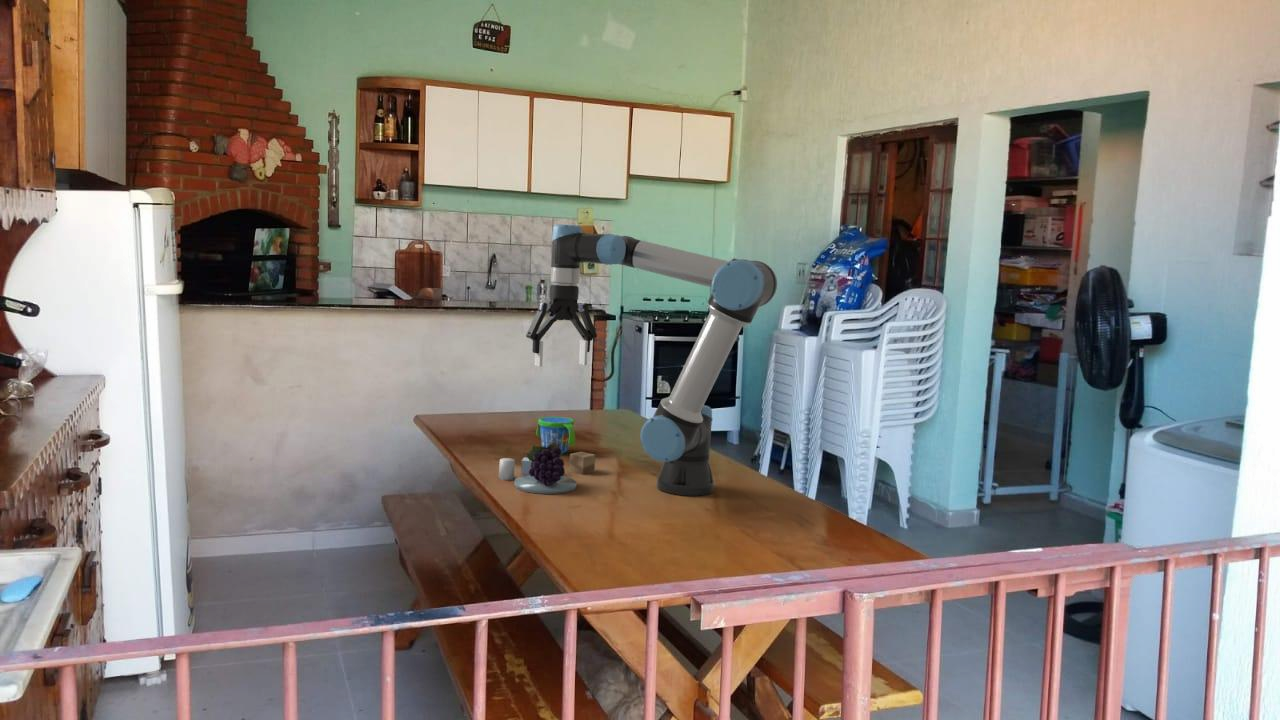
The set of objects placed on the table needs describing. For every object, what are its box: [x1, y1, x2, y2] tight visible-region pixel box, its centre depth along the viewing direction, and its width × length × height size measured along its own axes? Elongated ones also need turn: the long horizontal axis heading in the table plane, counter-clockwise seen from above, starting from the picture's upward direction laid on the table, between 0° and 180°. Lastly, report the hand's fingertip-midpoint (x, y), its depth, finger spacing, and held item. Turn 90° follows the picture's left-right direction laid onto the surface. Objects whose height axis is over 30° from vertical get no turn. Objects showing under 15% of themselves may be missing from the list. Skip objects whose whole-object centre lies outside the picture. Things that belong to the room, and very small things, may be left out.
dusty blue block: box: [520, 457, 532, 476], centre depth 256 cm, size 4×8×4 cm, turn 89°
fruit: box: [525, 444, 566, 486], centre depth 243 cm, size 10×11×15 cm
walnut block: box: [568, 451, 596, 476], centre depth 262 cm, size 5×5×5 cm
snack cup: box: [535, 416, 576, 454], centre depth 283 cm, size 16×10×10 cm
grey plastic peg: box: [498, 457, 516, 481], centre depth 249 cm, size 4×4×5 cm
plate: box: [514, 475, 577, 495], centre depth 243 cm, size 16×16×1 cm
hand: (560, 365), depth 247 cm, fingers open, 13 cm apart
